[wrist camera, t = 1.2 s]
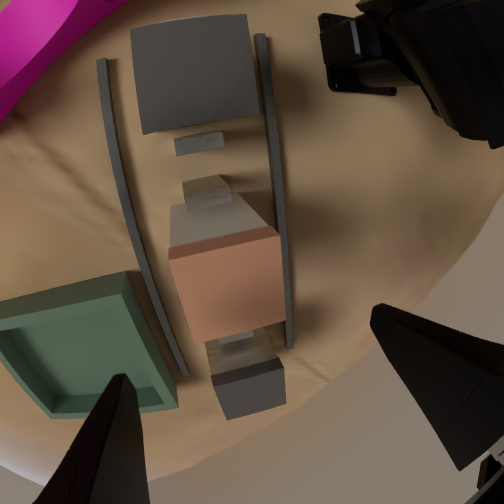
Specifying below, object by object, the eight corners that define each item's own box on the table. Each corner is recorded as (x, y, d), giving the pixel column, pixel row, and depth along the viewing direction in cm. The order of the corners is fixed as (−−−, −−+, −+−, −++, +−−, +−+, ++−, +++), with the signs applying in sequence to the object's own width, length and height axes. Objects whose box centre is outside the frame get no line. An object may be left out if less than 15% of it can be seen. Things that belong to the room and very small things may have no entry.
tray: (126, 270, 19) (120, 293, 16) (176, 383, 24) (178, 407, 22) (-10, 304, 16) (-24, 324, 13) (55, 398, 22) (51, 418, 19)
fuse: (237, 191, 19) (280, 235, 12) (246, 252, 21) (286, 320, 14) (169, 206, 18) (168, 260, 11) (184, 267, 20) (195, 343, 13)
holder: (261, 33, 14) (308, -7, 8) (290, 345, 26) (321, 399, 20) (98, 59, 12) (60, 26, 6) (183, 373, 24) (193, 435, 18)
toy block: (108, -48, 8) (91, -102, 1) (148, -11, 11) (142, -71, 4) (-38, 92, 9) (-97, 95, 2) (-9, 140, 12) (-75, 157, 5)
